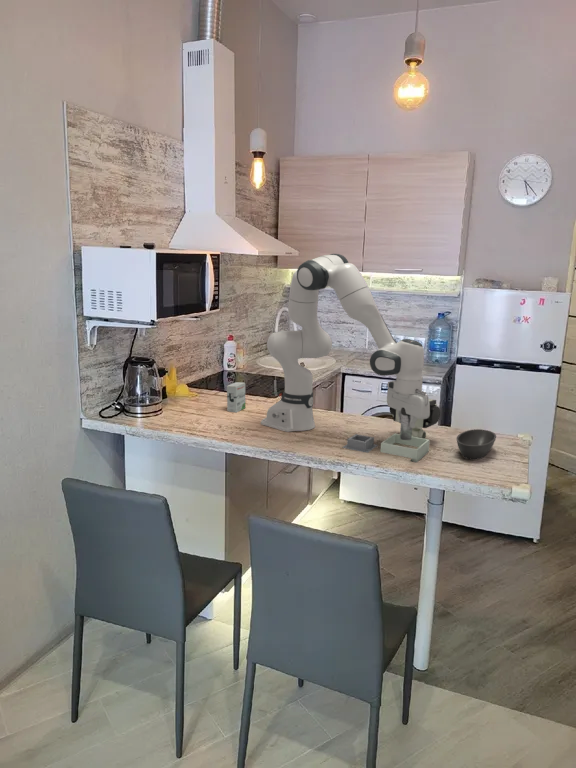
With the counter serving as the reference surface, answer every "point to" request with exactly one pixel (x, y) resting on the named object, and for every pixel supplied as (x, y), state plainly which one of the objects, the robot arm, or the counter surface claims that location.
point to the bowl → (475, 443)
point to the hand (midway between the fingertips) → (406, 425)
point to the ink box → (236, 397)
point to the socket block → (360, 443)
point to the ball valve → (422, 420)
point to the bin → (405, 451)
